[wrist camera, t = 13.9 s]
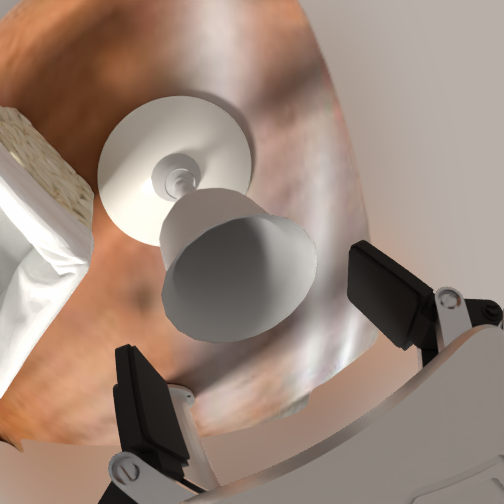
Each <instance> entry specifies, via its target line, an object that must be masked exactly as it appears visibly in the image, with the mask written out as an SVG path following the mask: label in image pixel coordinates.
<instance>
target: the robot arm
mask: <svg viewBox="0 0 504 504" xmlns="http://www.w3.org/2000/svg"><path fill="white" fill-rule="evenodd" d="M347 296H348V299H349V300H350V302H351V303H352V304H353V305H355V306H356V307H357V308H358V309H359V310H360V311H361V312H362V313H363V314H364V315H365V316H366V317H367V318H368V319H369V320H370V321H371V322H372V323H373V324H374V325H375V326H376V327H377V328H378V329H379V330H380V331H381V332H383V334H384V335H385V336H387V338H388V339H390V340H391V341H392V342H393V343H394V344H395V345H396V346H397V347H399V348H402V349H403V350H404V351H405V350H407V349H408V348H409V347H410V346H412V345H413V344H414V345H415V346H417V355H418V369H419V372H418V373H417V374H416V375H415V376H414V377H413V378H411V379H410V380H409V381H408V382H407V383H405V384H404V385H403V386H402V387H401V388H399V389H398V390H397V391H396V392H394V393H393V394H392V395H391V396H389V397H388V398H387V399H385V400H384V401H383V402H381V403H380V404H379V405H377V406H376V407H375V408H373V409H372V410H370V411H369V412H368V413H366V414H365V415H363V416H362V417H361V418H359V419H357V420H356V421H354V422H353V423H351V424H350V425H348V426H347V427H345V428H343V429H342V430H340V431H339V432H337V433H335V434H334V435H332V436H330V437H329V438H327V439H325V440H323V441H322V442H320V443H318V444H316V445H314V446H313V447H311V448H309V449H307V450H305V451H303V452H301V453H299V454H298V455H295V456H293V457H291V458H289V459H287V460H285V461H283V462H281V463H279V464H277V465H274V466H272V467H270V468H268V469H265V470H263V471H261V472H258V473H255V474H253V475H251V476H248V477H246V478H243V479H240V480H238V481H235V482H233V483H230V484H227V485H224V486H220V484H219V482H218V480H217V478H216V476H215V474H214V471H213V469H212V466H211V464H210V461H209V459H208V457H207V454H206V451H205V449H204V446H203V444H202V441H201V439H200V436H199V433H198V430H197V428H196V425H195V422H194V419H193V416H192V413H191V411H190V408H191V407H192V406H193V404H194V402H195V398H194V395H193V393H192V391H191V390H189V389H188V388H186V387H184V386H180V385H174V384H167V383H166V381H165V380H164V379H163V378H162V377H161V376H160V374H159V373H158V372H157V371H156V370H155V369H154V368H153V366H152V365H151V364H150V363H149V362H148V360H147V359H146V358H145V357H144V356H143V354H142V353H141V352H140V351H139V350H138V348H137V347H136V346H131V345H130V344H127V345H124V346H121V347H119V348H116V349H115V359H116V372H117V382H118V384H116V385H114V387H113V396H114V405H115V412H116V419H117V426H118V432H119V437H120V443H121V448H122V452H120V453H118V454H116V455H114V456H113V457H112V458H111V460H110V462H109V467H108V471H109V475H110V478H111V480H112V481H111V483H110V484H109V486H108V488H107V489H106V491H105V493H104V494H103V496H102V498H101V499H100V501H99V503H98V504H504V309H503V311H502V309H501V308H500V306H499V305H498V304H497V303H496V302H494V301H492V300H482V299H481V300H480V299H464V298H463V296H462V295H461V293H460V292H459V291H457V290H456V289H454V288H451V287H442V288H440V289H438V290H437V291H436V294H434V293H433V289H432V288H430V287H429V286H428V285H427V284H425V283H424V282H422V281H421V280H420V279H419V278H417V277H416V276H415V275H413V274H412V273H410V272H409V271H408V270H407V269H405V268H404V267H402V266H401V265H400V264H398V263H397V262H395V261H394V260H393V259H391V258H390V257H388V256H387V255H386V254H384V253H383V252H381V251H380V250H378V249H377V248H375V247H374V246H373V245H371V244H370V243H368V242H367V241H365V240H361V241H359V242H357V243H355V244H353V245H352V246H351V250H350V251H349V266H348V288H347Z"/></svg>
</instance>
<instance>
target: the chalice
mask: <svg viewBox="0 0 504 504" xmlns="http://www.w3.org/2000/svg"><path fill="white" fill-rule="evenodd" d="M200 180H201V171H200V168H199V165H198V164H197V163H196V161H195V160H194V159H193V158H191V157H190V156H188V155H185V154H180V153H177V154H170V155H168V156H166V157H163V158H162V159H161V160H160V161H159V162H158V163H157V164H156V166H155V167H154V169H153V172H152V176H151V183H152V187H153V189H154V192H155V193H156V194H157V195H158V196H159V197H160V198H162V199H164V200H166V201H171V202H175V204H174V205H173V207H172V208H171V210H170V211H169V213H168V215H167V216H166V218H165V220H164V221H163V224H162V228H161V232H160V236H159V241H160V248H161V254H162V258H163V262H164V265H165V269H166V276H165V280H164V285H163V289H162V294H161V296H162V301H163V305H164V309H165V314H166V316H167V317H168V319H169V320H170V321H171V322H172V324H173V325H174V326H175V327H176V328H177V330H178V331H180V332H182V333H184V334H186V335H188V336H189V337H191V338H193V339H195V340H201V341H206V342H212V343H224V342H236V341H240V340H243V339H247V338H250V337H254V336H256V335H259V334H261V333H263V332H265V331H267V330H269V329H271V328H273V327H274V326H276V325H277V324H278V323H280V322H281V321H282V320H284V319H285V318H286V317H288V316H289V315H290V314H291V313H292V312H293V311H294V310H295V309H296V308H297V307H298V305H299V304H300V303H301V302H302V301H303V300H304V298H305V297H306V295H307V293H308V291H309V289H310V287H311V285H312V283H313V282H314V279H315V274H316V269H317V263H318V260H317V254H316V248H315V244H314V242H313V241H312V239H311V238H310V236H309V234H308V233H307V231H306V230H305V229H304V228H303V227H301V226H299V225H298V224H296V223H295V222H293V221H292V220H290V219H288V218H285V217H280V216H275V215H270V214H268V213H267V212H266V211H265V210H263V209H262V208H261V207H260V206H259V205H257V204H256V203H255V202H254V201H253V200H251V199H250V198H248V197H247V196H245V195H243V194H242V193H240V192H238V191H235V190H230V189H225V188H205V189H197V188H198V186H199V183H200ZM196 189H197V190H196Z"/></svg>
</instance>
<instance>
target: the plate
mask: <svg viewBox="0 0 504 504" xmlns="http://www.w3.org/2000/svg"><path fill="white" fill-rule="evenodd" d="M177 153H180V154H185V155H188V156H190V157H191V158H193V159H194V160H195V161H196V163H197V164H198V165H199V168H200V171H201V180H200V183H199V186H198V188H197V189H205V188H225V189H230V190H235V191H238V192H240V193H242V194H243V195H246V192H247V190H248V186H249V182H250V177H251V155H250V149H249V146H248V142H247V140H246V137H245V135H244V133H243V131H242V130H241V128H240V126H239V125H238V124H237V122H236V121H235V120H234V119H233V118H232V117H231V116H230V115H229V114H228V113H227V112H226V111H224V110H223V109H221V108H220V107H218V106H217V105H215V104H213V103H211V102H209V101H206V100H203V99H200V98H195V97H190V96H171V97H164V98H160V99H156V100H153V101H151V102H148V103H146V104H144V105H142V106H140V107H138V108H137V109H135V110H133V111H132V112H131V113H130V114H128V115H127V116H126V117H125V118H124V119H123V120H122V121H121V122H120V123H119V124H118V125H117V126H116V127H115V128H114V130H113V131H112V133H111V134H110V136H109V137H108V139H107V141H106V143H105V145H104V147H103V150H102V153H101V156H100V160H99V164H98V175H97V178H98V189H99V194H100V198H101V201H102V203H103V206H104V208H105V210H106V212H107V214H108V215H109V217H110V218H111V219H112V221H113V222H114V223H115V224H116V225H117V226H118V227H119V228H120V229H121V230H122V231H123V232H125V233H126V234H127V235H129V236H131V237H132V238H134V239H136V240H138V241H141V242H143V243H146V244H150V245H154V246H160V241H159V236H160V232H161V228H162V224H163V221H164V220H165V218H166V216H167V215H168V213H169V211H170V210H171V208H172V207H173V205H174V204H175V202H171V201H166V200H164V199H162V198H160V197H159V196H158V195H157V194H156V193H155V192H154V189H153V187H152V183H151V176H152V172H153V169H154V167H155V166H156V164H157V163H158V162H159V161H160V160H161V159H162V158H163V157H166V156H168V155H170V154H177ZM197 189H196V190H197Z"/></svg>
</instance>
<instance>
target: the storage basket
mask: <svg viewBox="0 0 504 504" xmlns="http://www.w3.org/2000/svg"><path fill="white" fill-rule="evenodd" d="M93 200H94V193H93V192H92V189H91V187H90V186H89V184H88V183H87V182H86V181H85V180H84V179H83V178H82V177H81V176H80V175H78V174H76V172H75V170H74V169H73V168H72V167H71V166H70V165H69V164H68V163H67V162H66V161H65V160H63V159H62V158H61V155H60V154H59V153H58V152H57V151H56V150H55V149H54V148H53V147H52V146H51V145H50V144H49V143H48V142H47V141H46V140H45V138H44V137H43V136H42V135H41V134H40V133H39V132H38V131H37V130H36V129H35V128H34V127H33V126H32V124H31V122H30V121H29V120H28V119H27V118H26V117H25V116H23V115H22V114H21V113H20V112H19V111H18V110H17V109H16V108H9V107H4V108H3V107H2V106H0V398H1V397H2V396H3V394H4V393H5V391H6V390H7V388H8V386H9V385H10V383H11V382H12V380H13V379H14V377H15V376H16V374H17V373H18V371H19V370H20V368H21V366H22V365H23V363H24V361H25V360H26V358H27V357H28V355H29V354H30V352H31V351H32V349H33V348H34V346H35V345H36V343H37V342H38V340H39V339H40V337H41V336H42V335H43V333H44V332H45V330H46V329H47V328H48V326H49V325H50V323H51V322H52V321H53V319H54V318H55V317H56V316H57V314H58V313H59V311H60V310H61V309H62V307H63V306H64V304H65V303H66V302H67V300H68V299H69V297H70V296H71V295H72V293H73V292H74V290H75V289H76V287H77V286H78V285H79V283H80V282H81V280H82V279H83V277H84V276H85V275H86V273H87V272H88V270H89V266H90V262H91V257H92V252H93V249H94V239H93V234H92V227H91V226H92V218H93V216H92V215H93Z"/></svg>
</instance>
